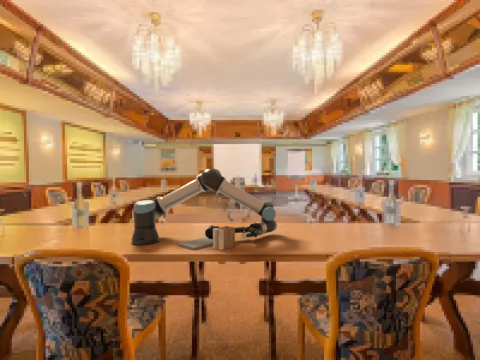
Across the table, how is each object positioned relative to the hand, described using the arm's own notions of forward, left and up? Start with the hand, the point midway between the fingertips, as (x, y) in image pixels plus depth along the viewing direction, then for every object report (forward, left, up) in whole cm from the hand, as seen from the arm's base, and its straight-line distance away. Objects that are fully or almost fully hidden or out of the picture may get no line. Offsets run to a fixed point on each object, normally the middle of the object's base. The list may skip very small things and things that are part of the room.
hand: (232, 234), depth 156 cm
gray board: (-16, -10, -6) cm, 20 cm away
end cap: (-23, +6, -6) cm, 24 cm away
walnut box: (-1, 0, -1) cm, 1 cm away
